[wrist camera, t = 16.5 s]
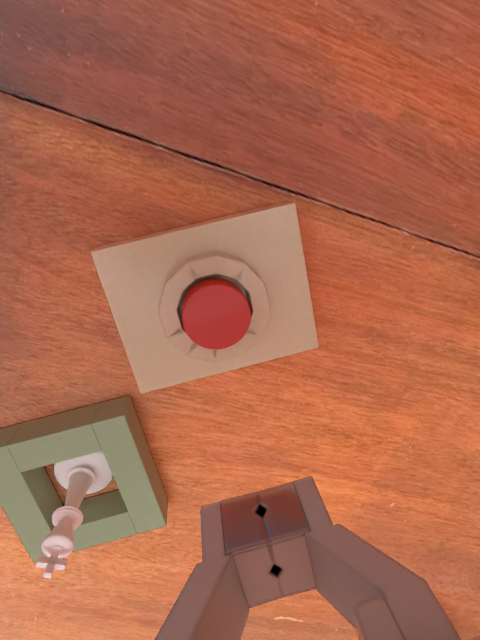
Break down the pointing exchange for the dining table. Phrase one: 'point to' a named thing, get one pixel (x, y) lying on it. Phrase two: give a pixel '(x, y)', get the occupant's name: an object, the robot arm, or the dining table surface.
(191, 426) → the dining table surface
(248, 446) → the dining table surface
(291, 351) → the panel
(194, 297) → the button
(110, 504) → the dock
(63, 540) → the chess piece
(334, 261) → the dining table surface
